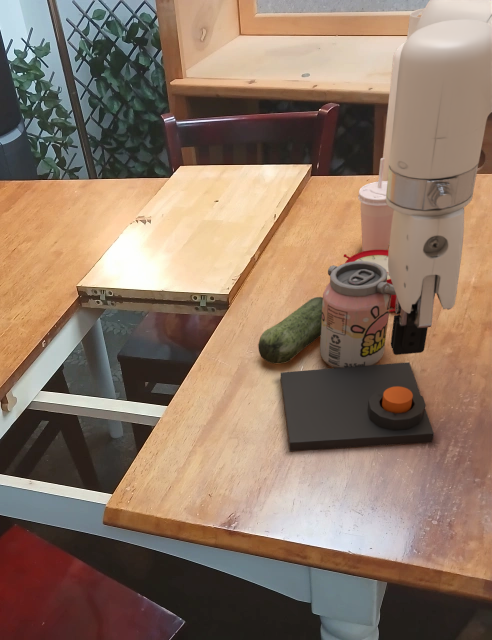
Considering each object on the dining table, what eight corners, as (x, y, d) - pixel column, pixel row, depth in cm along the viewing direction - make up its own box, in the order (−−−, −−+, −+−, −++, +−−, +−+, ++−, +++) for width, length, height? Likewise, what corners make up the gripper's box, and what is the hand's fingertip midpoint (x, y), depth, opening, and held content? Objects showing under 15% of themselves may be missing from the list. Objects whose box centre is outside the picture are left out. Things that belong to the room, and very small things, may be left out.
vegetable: (282, 376, 97) (282, 344, 93) (251, 363, 100) (250, 331, 96) (344, 326, 102) (346, 294, 99) (313, 316, 105) (314, 284, 102)
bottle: (427, 192, 126) (455, 1, 106) (430, 214, 121) (460, 16, 101) (377, 195, 128) (396, 8, 108) (378, 216, 123) (398, 23, 103)
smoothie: (385, 237, 118) (395, 147, 108) (403, 255, 113) (416, 162, 103) (347, 246, 118) (353, 157, 108) (363, 264, 113) (372, 172, 103)
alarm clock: (405, 242, 108) (431, 270, 96) (402, 284, 112) (427, 316, 99) (333, 250, 110) (349, 279, 98) (332, 292, 113) (348, 324, 101)
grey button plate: (408, 370, 93) (411, 351, 91) (432, 442, 84) (436, 422, 82) (280, 380, 96) (280, 361, 94) (289, 451, 87) (289, 432, 84)
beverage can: (349, 328, 102) (356, 247, 93) (402, 349, 97) (415, 265, 88) (306, 359, 99) (309, 278, 90) (358, 382, 93) (366, 298, 85)
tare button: (408, 395, 86) (409, 385, 85) (413, 412, 84) (415, 402, 83) (379, 398, 87) (381, 387, 86) (384, 414, 85) (385, 404, 83)
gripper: (497, 213, 61) (459, 388, 74) (454, 145, 72) (428, 309, 85) (403, 224, 63) (382, 394, 76) (374, 156, 73) (360, 316, 86)
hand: (406, 349), depth 80 cm, fingers closed
